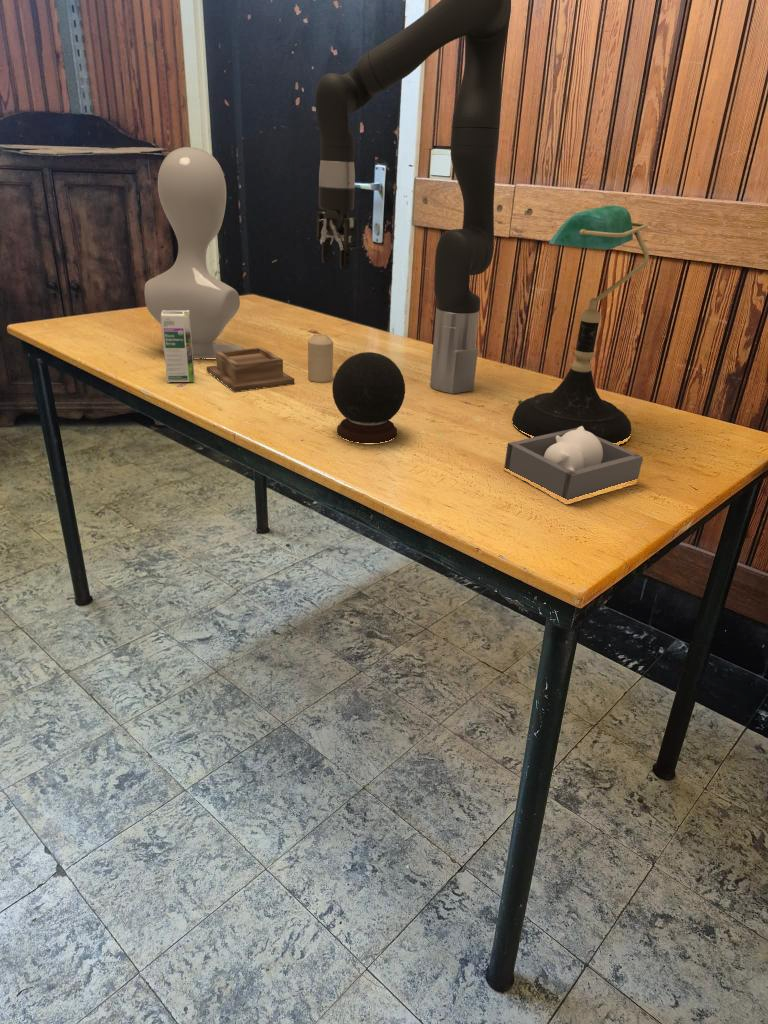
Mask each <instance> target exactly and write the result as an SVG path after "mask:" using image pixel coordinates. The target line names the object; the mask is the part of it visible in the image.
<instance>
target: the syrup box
mask: <svg viewBox="0 0 768 1024" xmlns="http://www.w3.org/2000/svg"><path fill="white" fill-rule="evenodd" d="M160 327H161V334H162V335H161V336H162V343H163V344H162V346H164V352H163V354H164V362H165V363H164V364H165V374H166V377H165V378H166V383H167V382H193V383H194V381H195V367H194V359H193V350H192V337H191V325H190V312H189V310H186V311H166V310H163V311H162V313H161V324H160Z"/></svg>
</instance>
